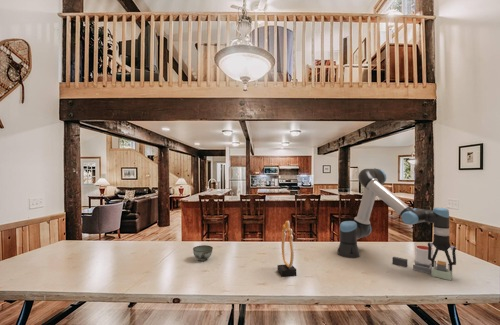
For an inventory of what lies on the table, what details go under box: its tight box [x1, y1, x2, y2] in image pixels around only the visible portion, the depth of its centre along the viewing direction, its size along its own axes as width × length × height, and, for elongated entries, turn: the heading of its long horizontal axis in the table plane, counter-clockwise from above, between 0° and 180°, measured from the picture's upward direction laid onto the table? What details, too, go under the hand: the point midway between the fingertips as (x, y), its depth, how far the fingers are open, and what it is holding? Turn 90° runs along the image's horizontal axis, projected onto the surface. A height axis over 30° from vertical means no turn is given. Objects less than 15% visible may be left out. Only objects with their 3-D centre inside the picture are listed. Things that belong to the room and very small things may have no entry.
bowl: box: [192, 244, 214, 262], centre depth 179 cm, size 14×13×8 cm
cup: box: [414, 245, 434, 266], centre depth 174 cm, size 10×10×10 cm
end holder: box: [431, 265, 453, 282], centre depth 152 cm, size 9×8×4 cm
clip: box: [412, 261, 433, 275], centre depth 161 cm, size 9×7×3 cm
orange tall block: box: [436, 260, 447, 272], centre depth 152 cm, size 4×4×8 cm
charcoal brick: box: [391, 256, 408, 268], centre depth 169 cm, size 8×3×4 cm, turn 45°
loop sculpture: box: [277, 220, 297, 278], centre depth 156 cm, size 17×9×32 cm, turn 12°
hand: (441, 274), depth 152 cm, fingers open, 6 cm apart
